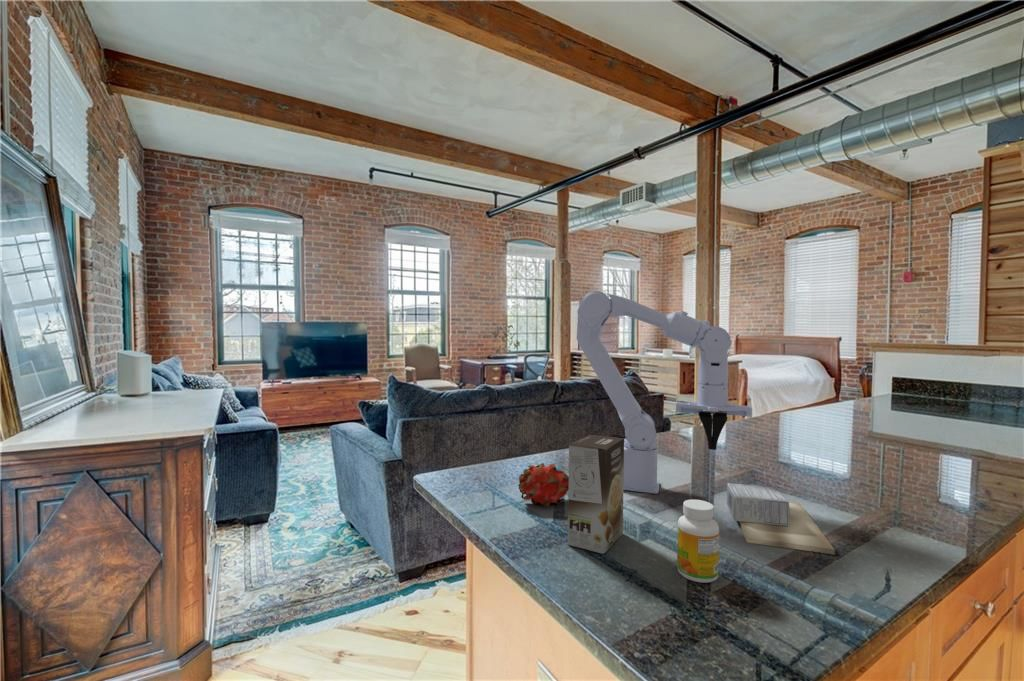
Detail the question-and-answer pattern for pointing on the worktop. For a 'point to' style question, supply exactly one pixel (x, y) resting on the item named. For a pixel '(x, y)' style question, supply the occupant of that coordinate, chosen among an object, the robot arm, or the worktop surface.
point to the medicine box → (757, 504)
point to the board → (789, 533)
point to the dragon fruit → (543, 484)
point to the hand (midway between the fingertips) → (712, 448)
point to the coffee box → (595, 492)
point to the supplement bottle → (698, 542)
